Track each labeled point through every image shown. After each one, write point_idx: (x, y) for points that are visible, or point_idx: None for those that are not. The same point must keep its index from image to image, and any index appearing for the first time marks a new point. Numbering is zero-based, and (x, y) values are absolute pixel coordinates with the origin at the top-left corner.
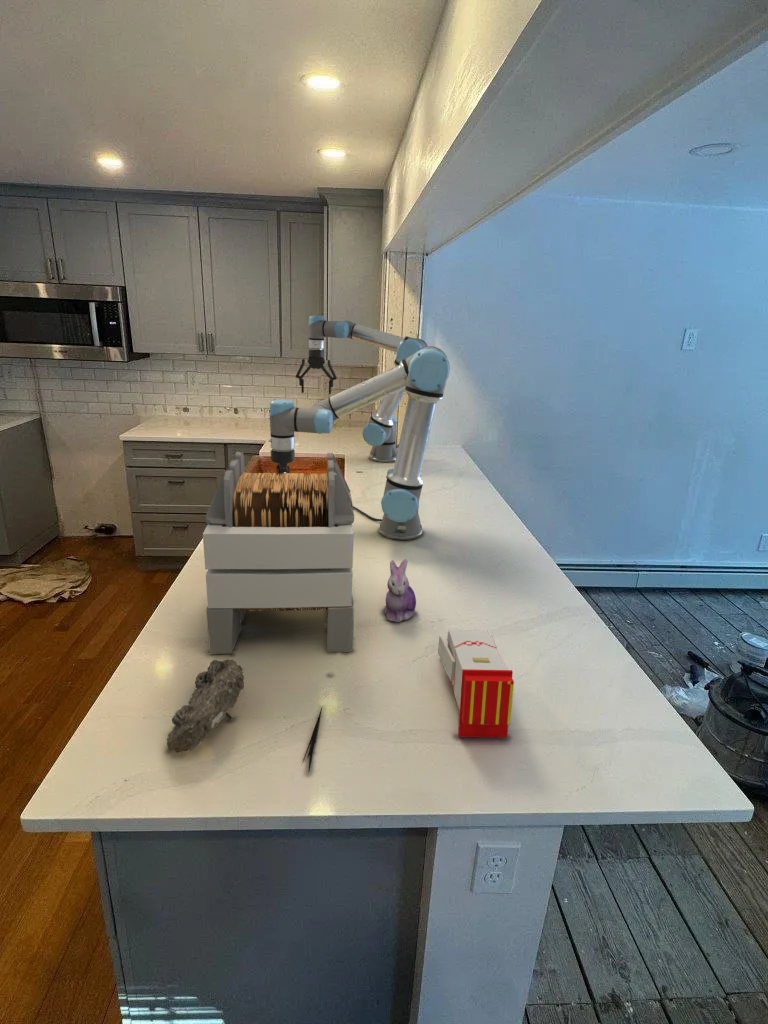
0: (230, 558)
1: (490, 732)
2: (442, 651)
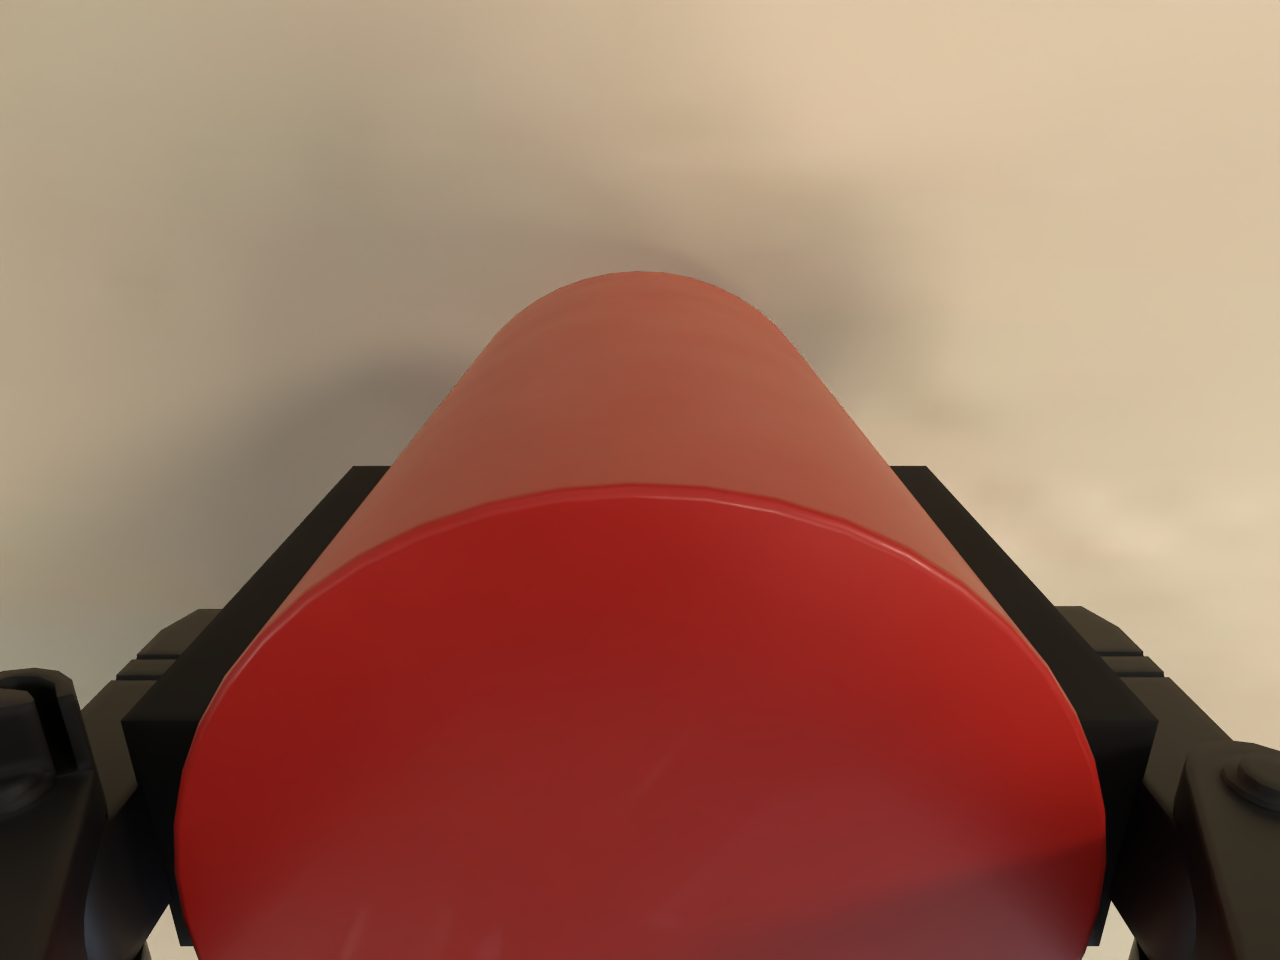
0: None
1: None
2: None
